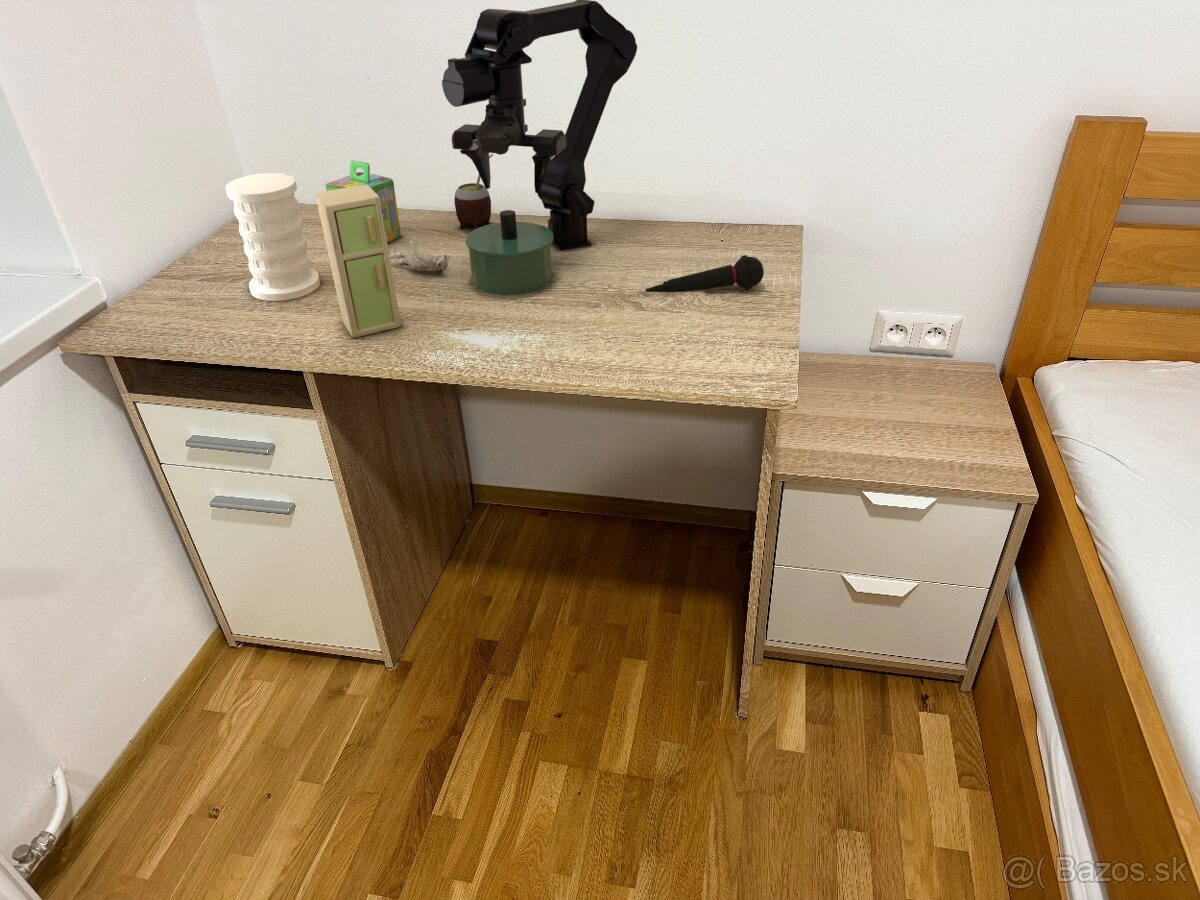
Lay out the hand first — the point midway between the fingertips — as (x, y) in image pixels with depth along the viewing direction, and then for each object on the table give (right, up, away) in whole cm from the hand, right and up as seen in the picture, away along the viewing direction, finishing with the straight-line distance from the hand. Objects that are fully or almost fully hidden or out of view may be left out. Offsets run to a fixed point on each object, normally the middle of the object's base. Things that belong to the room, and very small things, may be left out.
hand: (512, 190), depth 150 cm
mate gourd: (-9, -1, +22) cm, 24 cm away
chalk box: (-29, -5, +17) cm, 34 cm away
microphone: (+33, -18, -4) cm, 38 cm away
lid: (0, -10, -4) cm, 10 cm away
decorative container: (-39, -17, 0) cm, 43 cm away
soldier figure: (-17, -13, +5) cm, 22 cm away
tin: (0, -16, 0) cm, 16 cm away
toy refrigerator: (-21, -26, -13) cm, 36 cm away
